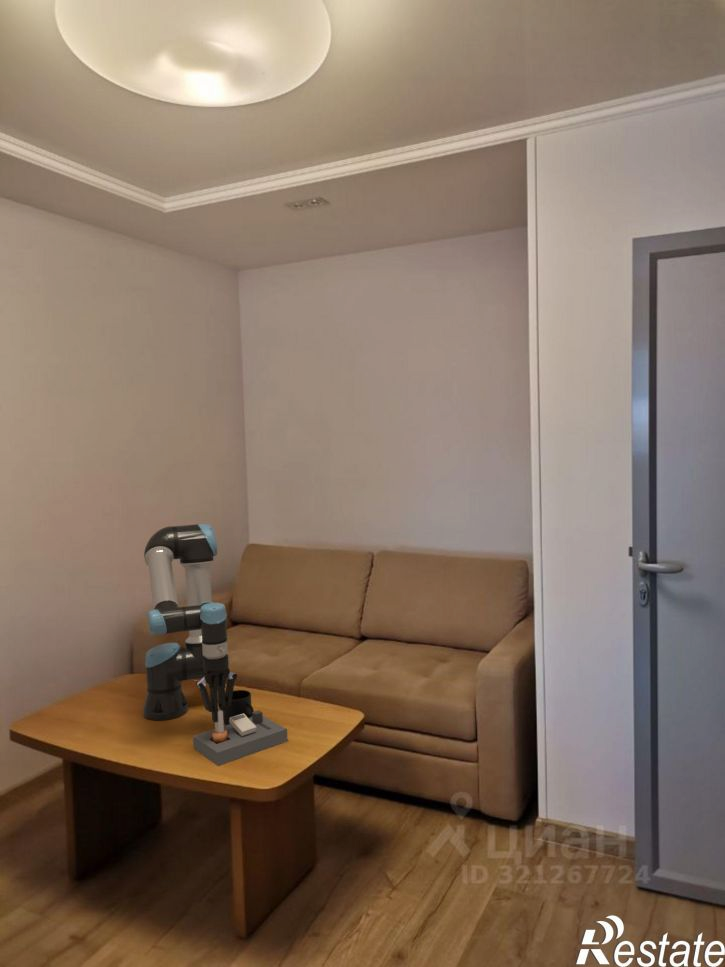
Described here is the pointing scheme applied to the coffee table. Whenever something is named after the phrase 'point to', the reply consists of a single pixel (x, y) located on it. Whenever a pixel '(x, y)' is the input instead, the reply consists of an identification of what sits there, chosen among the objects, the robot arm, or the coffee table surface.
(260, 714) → the slider
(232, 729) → the panel
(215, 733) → the button
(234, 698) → the mug
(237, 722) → the rocker
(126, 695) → the coffee table surface
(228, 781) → the coffee table surface
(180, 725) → the coffee table surface
